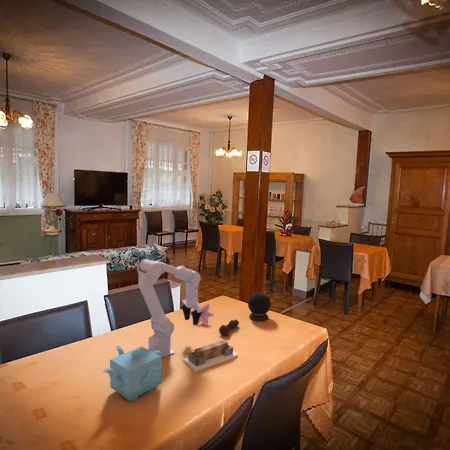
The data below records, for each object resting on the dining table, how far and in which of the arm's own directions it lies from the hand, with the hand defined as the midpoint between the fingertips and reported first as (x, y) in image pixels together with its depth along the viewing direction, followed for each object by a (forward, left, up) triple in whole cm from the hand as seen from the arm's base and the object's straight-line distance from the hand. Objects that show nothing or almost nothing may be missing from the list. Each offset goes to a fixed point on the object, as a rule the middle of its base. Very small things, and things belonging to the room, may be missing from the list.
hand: (191, 322), depth 167 cm
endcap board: (-2, -20, -9) cm, 22 cm away
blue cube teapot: (-39, -23, -10) cm, 46 cm away
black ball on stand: (+48, +3, -10) cm, 49 cm away
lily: (+17, +16, -10) cm, 25 cm away
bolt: (+24, -2, -10) cm, 26 cm away
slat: (-2, -20, -8) cm, 22 cm away
